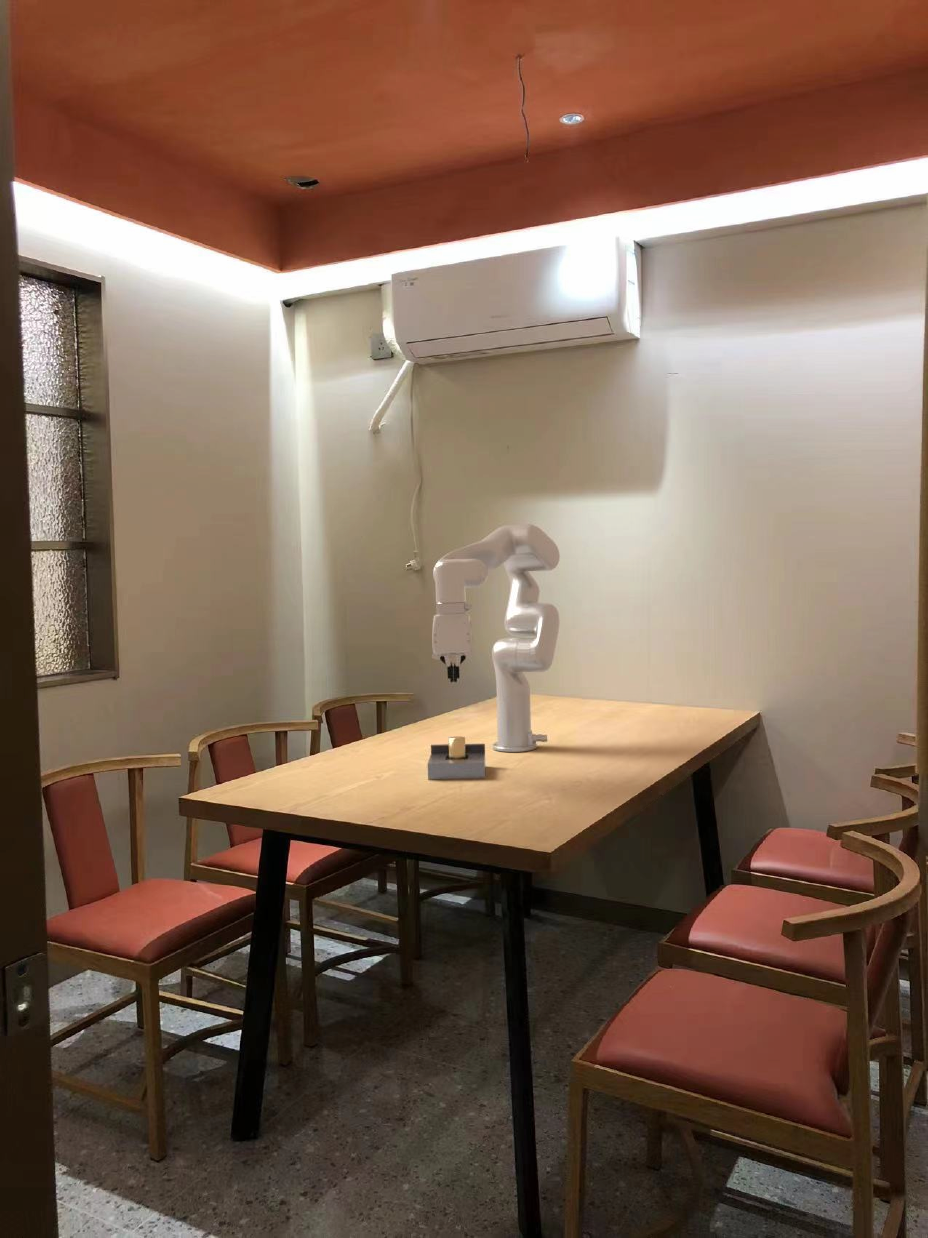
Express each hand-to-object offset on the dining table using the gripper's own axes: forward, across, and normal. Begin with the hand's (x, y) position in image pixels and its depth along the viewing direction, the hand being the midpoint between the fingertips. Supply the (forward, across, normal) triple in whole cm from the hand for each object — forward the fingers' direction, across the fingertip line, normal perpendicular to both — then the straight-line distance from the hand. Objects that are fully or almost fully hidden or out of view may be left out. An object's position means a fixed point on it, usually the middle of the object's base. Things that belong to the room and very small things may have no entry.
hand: (453, 681), depth 247 cm
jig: (+23, 0, +2) cm, 23 cm away
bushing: (+23, 0, +2) cm, 23 cm away
